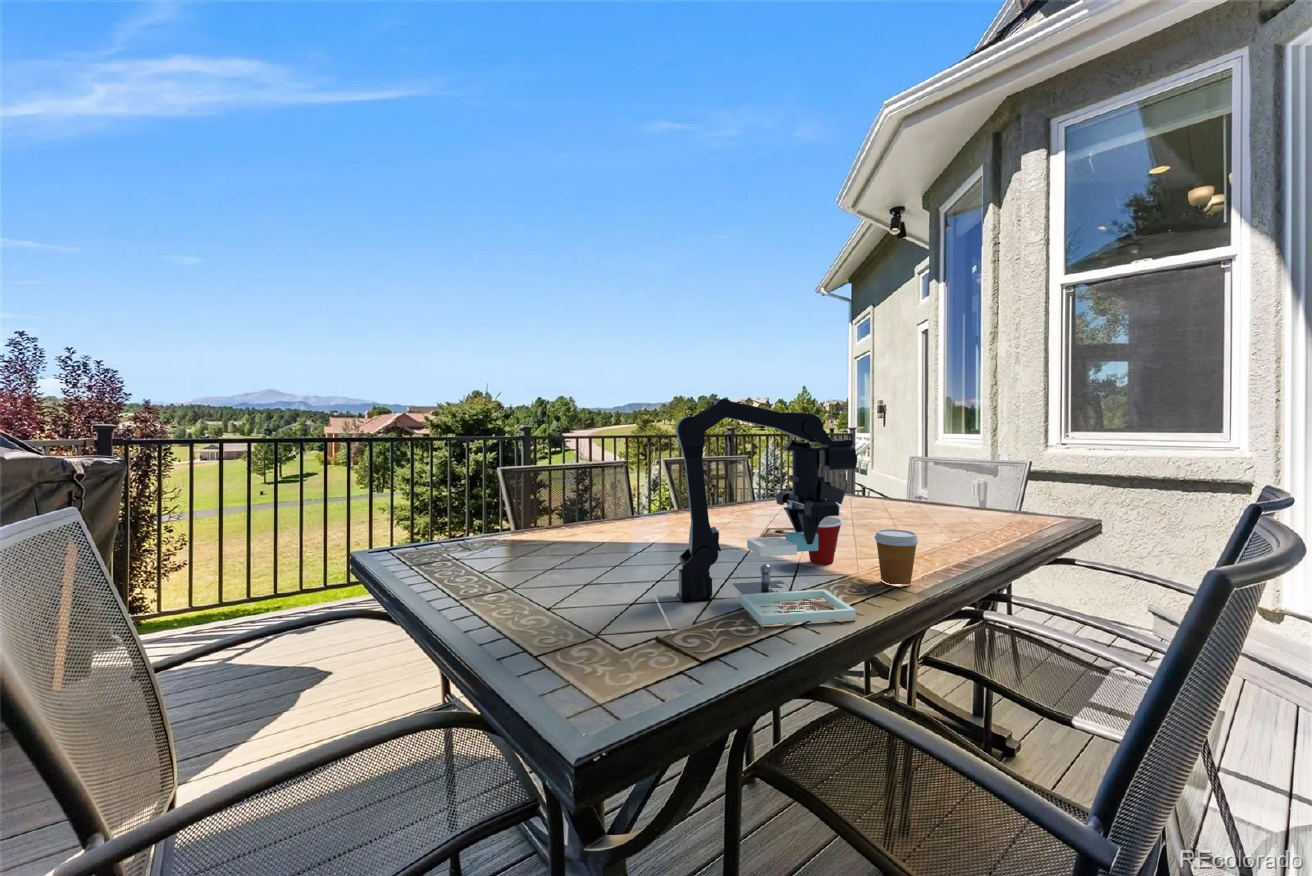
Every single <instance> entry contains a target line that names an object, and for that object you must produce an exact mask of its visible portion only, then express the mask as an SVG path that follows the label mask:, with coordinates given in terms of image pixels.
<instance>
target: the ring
mask: <svg viewBox="0 0 1312 876" xmlns="http://www.w3.org/2000/svg"><path fill="white" fill-rule="evenodd" d="M784 535H785V538H784V537H782V536H779V537H778V536H776V537H758V538H747V539H746V541H747V542H746V544H747V547H746V548H747V549H749V551H752V552H753V554H756V555H757V556H759V557H761V558H762V557H778V556H794V555H798V552H809V551H818V534H816V535H815V538H814V541H813V544H810V545H808V544H807V542H806V539H805V536H804V533H803V532H795V531H793V532H792V531H790V532H789V531H788V532H786V531H785V534H784Z"/></svg>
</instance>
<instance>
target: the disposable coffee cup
mask: <svg viewBox="0 0 1312 876" xmlns="http://www.w3.org/2000/svg"><path fill="white" fill-rule="evenodd" d="M874 539H875V542H876V546H877V556H878V564H879V572H880V579H882V580H883V581H884V582H886V583H889V584H910V583H911V584H912V579H913V571H914V563H915V557H916V550H917V549H916V548H917V545H918V543H919V542H920V541H919V540H920V539H919V538H918V535H917V533H915V532H913V531H911V530H910V531H909V530H906V529H905V530H904V529H896V528H895V529H894V528H893V529H892V528H891V529H889V528H886V529H878V530H877V531H876V534H875V535H874Z"/></svg>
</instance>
